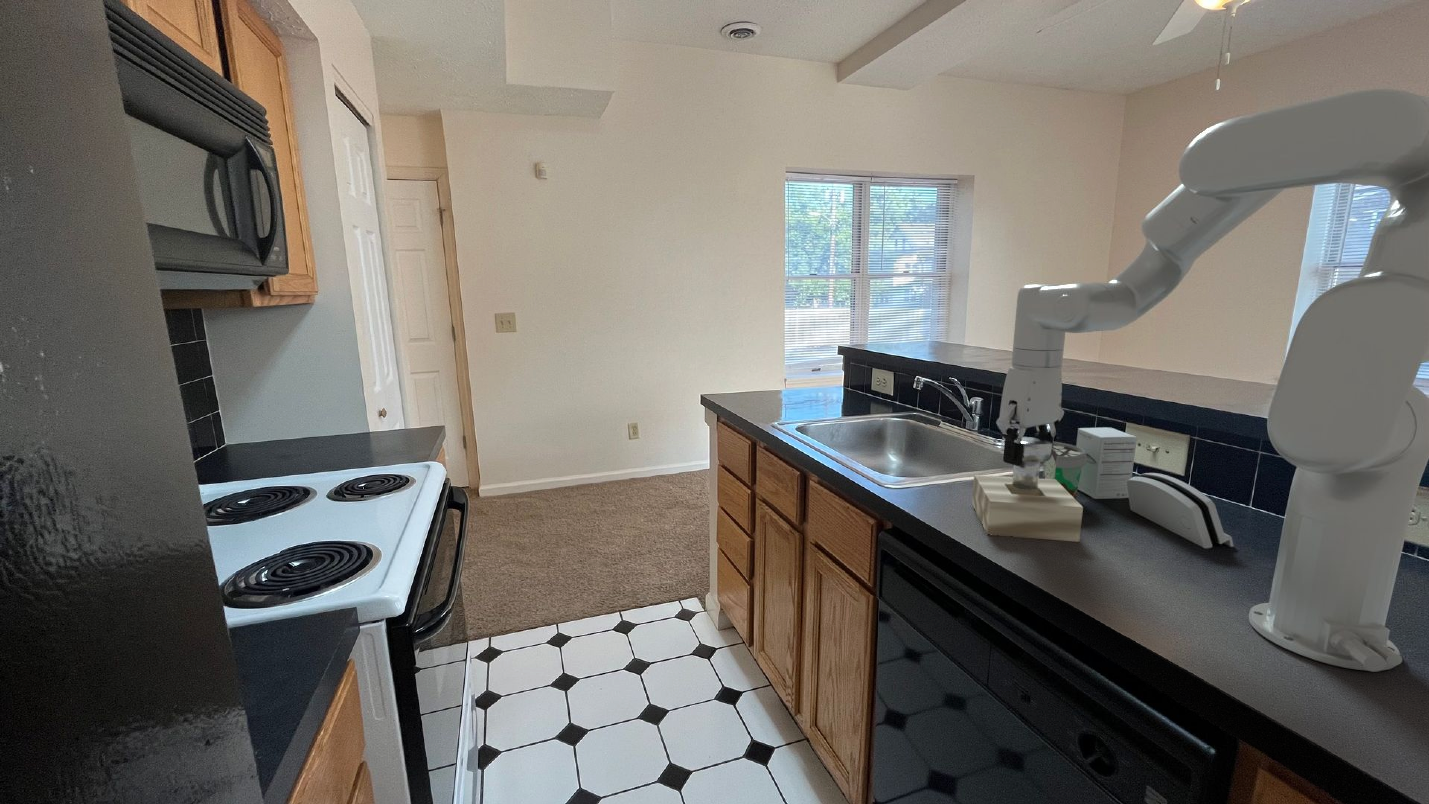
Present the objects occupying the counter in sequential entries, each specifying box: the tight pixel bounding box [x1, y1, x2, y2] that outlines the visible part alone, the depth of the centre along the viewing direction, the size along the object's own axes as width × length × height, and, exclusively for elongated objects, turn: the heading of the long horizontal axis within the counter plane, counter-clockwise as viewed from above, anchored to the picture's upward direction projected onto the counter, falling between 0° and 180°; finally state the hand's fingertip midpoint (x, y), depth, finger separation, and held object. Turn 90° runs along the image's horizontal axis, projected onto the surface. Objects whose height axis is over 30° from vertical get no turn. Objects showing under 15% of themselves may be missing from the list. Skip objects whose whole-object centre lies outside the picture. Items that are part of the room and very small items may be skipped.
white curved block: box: [1127, 472, 1234, 549], centre depth 103 cm, size 17×5×10 cm, turn 3°
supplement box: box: [1075, 426, 1138, 500], centre depth 119 cm, size 7×7×13 cm
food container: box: [1042, 441, 1087, 500], centre depth 116 cm, size 12×6×10 cm, turn 161°
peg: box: [1012, 436, 1052, 490], centre depth 104 cm, size 7×7×8 cm
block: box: [971, 474, 1084, 543], centre depth 106 cm, size 14×14×6 cm
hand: (1027, 459), depth 104 cm, fingers closed on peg, 7 cm apart
